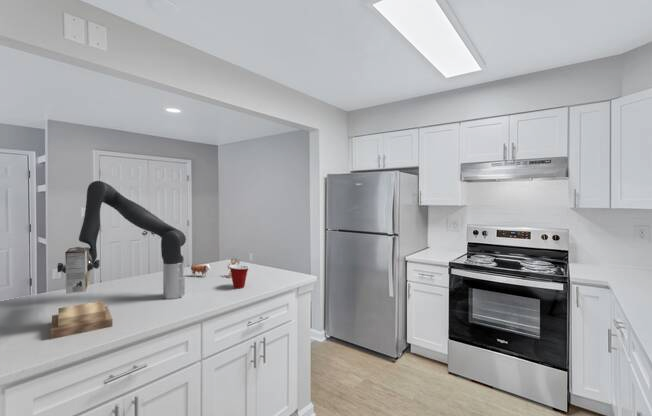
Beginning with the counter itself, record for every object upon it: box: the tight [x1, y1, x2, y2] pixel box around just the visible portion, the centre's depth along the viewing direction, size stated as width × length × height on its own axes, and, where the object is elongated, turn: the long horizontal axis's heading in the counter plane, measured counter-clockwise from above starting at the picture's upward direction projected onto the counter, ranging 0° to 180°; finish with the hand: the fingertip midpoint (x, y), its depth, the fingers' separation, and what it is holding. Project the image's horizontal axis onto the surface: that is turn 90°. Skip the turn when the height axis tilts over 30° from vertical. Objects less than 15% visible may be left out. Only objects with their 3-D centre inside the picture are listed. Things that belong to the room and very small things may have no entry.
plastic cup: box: [229, 264, 250, 289], centre depth 178 cm, size 11×11×12 cm
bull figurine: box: [190, 263, 211, 278], centre depth 200 cm, size 4×13×8 cm, turn 78°
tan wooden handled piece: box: [225, 257, 240, 279], centre depth 202 cm, size 9×4×12 cm, turn 136°
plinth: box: [50, 301, 113, 340], centre depth 124 cm, size 18×18×6 cm
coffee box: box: [64, 246, 91, 295], centre depth 125 cm, size 9×6×16 cm
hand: (77, 269), depth 123 cm, fingers closed on coffee box, 6 cm apart
